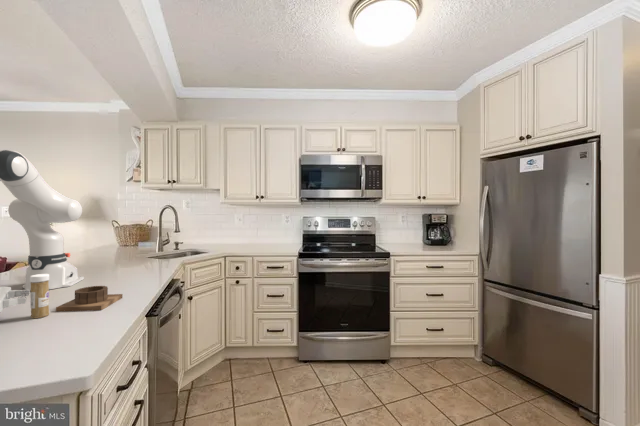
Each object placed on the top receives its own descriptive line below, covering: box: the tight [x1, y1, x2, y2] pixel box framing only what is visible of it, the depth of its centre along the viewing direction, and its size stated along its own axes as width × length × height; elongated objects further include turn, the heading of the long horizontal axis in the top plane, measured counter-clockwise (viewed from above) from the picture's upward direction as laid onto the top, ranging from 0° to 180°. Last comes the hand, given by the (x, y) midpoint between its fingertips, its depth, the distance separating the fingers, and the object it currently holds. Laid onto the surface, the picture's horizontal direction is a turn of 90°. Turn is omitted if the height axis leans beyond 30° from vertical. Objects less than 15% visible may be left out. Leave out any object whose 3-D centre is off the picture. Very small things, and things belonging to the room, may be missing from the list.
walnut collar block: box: [55, 285, 123, 313], centre depth 109 cm, size 14×14×6 cm
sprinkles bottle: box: [29, 274, 50, 319], centre depth 97 cm, size 5×5×14 cm
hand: (27, 296), depth 95 cm, fingers open, 8 cm apart
